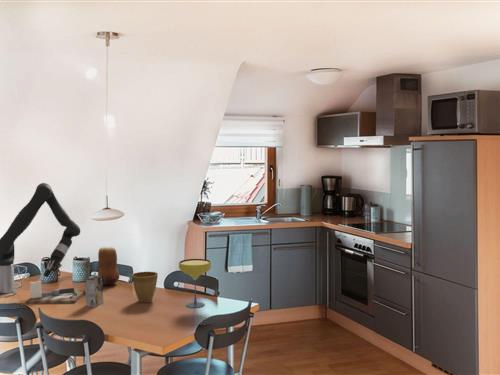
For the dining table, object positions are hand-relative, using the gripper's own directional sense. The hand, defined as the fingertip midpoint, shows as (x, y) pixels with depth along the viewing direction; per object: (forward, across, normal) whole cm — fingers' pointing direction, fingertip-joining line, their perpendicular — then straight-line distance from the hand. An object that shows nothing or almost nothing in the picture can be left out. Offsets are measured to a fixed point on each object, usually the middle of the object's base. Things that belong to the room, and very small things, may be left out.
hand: (45, 276), depth 329 cm
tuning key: (+9, +8, +5) cm, 13 cm away
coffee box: (+10, +38, +7) cm, 40 cm away
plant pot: (-3, +61, +19) cm, 64 cm away
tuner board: (+10, +9, +8) cm, 15 cm away
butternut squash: (-18, +17, +36) cm, 43 cm away
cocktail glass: (-6, +92, +21) cm, 95 cm away
